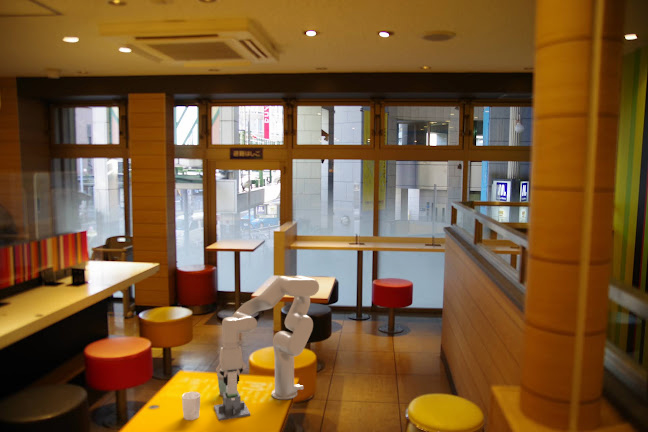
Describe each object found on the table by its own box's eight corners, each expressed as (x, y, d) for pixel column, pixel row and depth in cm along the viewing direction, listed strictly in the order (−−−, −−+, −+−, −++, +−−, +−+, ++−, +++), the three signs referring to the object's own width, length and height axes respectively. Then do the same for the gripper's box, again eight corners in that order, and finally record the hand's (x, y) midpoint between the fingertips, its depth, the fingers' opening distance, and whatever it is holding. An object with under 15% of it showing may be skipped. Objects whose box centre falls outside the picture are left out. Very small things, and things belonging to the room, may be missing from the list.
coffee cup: (230, 398, 251) (230, 374, 251) (214, 396, 253) (213, 372, 252) (237, 391, 260) (236, 367, 259) (221, 389, 262) (220, 366, 261)
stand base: (243, 402, 247) (243, 386, 246) (250, 415, 234) (250, 398, 233) (213, 407, 242) (213, 390, 241) (219, 420, 229) (218, 403, 228)
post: (235, 401, 240) (235, 367, 239) (237, 405, 236) (237, 371, 235) (225, 402, 239) (225, 368, 237) (227, 406, 234) (227, 372, 233)
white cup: (193, 411, 238) (193, 390, 237) (204, 416, 233) (203, 394, 232) (178, 417, 232) (178, 395, 231) (189, 422, 227) (189, 400, 226)
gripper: (247, 340, 242) (247, 378, 243) (210, 344, 235) (211, 383, 237) (251, 345, 235) (251, 384, 236) (213, 349, 228) (214, 389, 230)
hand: (231, 383), depth 236 cm, fingers closed on post, 4 cm apart
